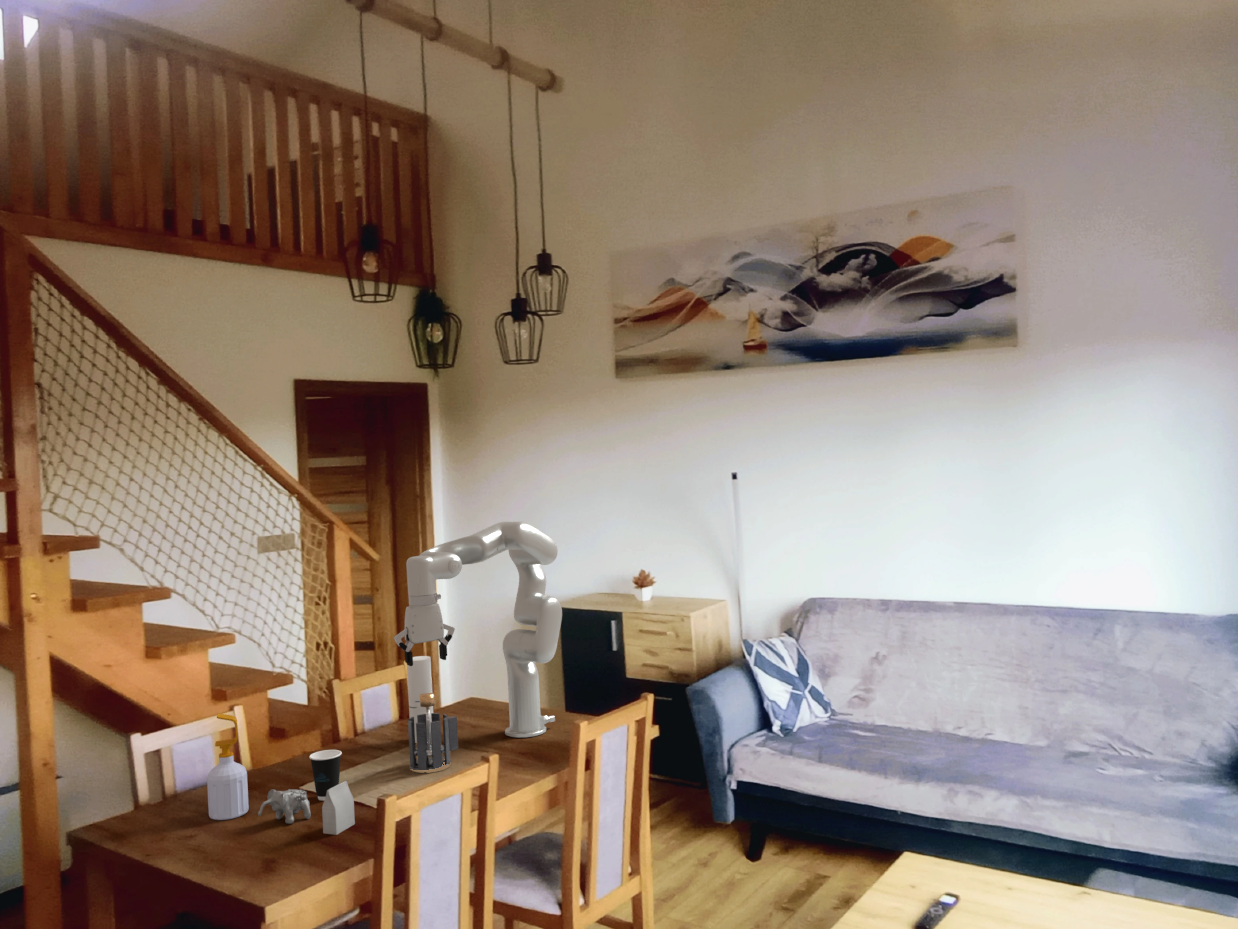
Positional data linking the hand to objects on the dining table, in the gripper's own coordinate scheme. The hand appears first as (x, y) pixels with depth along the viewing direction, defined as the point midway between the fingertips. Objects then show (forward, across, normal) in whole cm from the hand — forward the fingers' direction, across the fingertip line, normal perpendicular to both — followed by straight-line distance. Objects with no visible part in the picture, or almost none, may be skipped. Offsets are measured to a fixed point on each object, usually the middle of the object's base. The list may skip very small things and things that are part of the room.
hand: (426, 662), depth 268 cm
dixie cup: (+28, +31, +6) cm, 43 cm away
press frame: (+29, 0, 0) cm, 29 cm away
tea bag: (+28, +35, +30) cm, 54 cm away
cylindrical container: (+29, -7, -27) cm, 40 cm away
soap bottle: (+28, +54, +2) cm, 61 cm away
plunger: (+25, +1, 0) cm, 25 cm away
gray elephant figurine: (+28, +44, +17) cm, 55 cm away
